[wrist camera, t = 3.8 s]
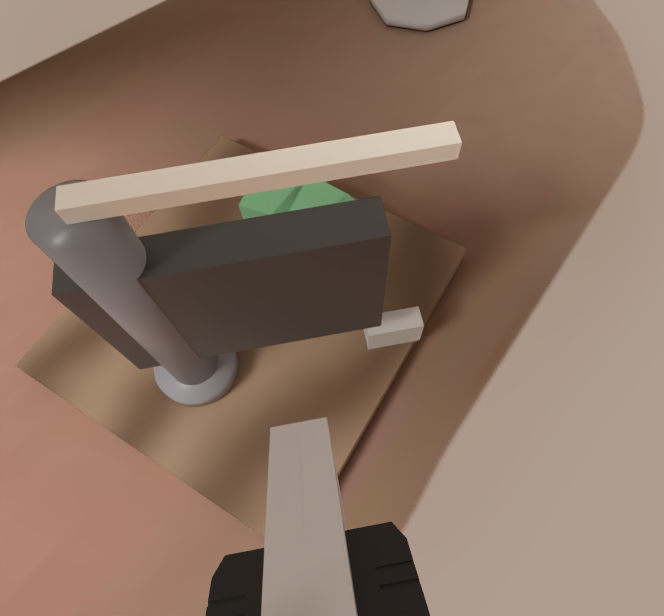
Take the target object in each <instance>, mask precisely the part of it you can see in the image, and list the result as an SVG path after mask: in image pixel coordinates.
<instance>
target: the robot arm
mask: <svg viewBox="0 0 664 616" xmlns="http://www.w3.org/2000/svg"><path fill="white" fill-rule="evenodd" d="M206 616H430V614H429V611H428V607H427V604H426V601H425V597H424V594H423V591H422V587H421V584H420V582H419V578H418V574H417V571H416V568H415V565H414V562H413V558H412V555H411V551H410V548H409V545H408V541H407V538H406V537H405V536H404V535H403V534H402V533H401V532H400V531H399V530H398V529H397V527H396V526H395V525H394V524H393V523H392V522H387V523H382V524H377V525H372V526H367V527H361V528H356V529H351V530H347V529H346V522H345V516H344V510H343V503H342V498H341V492H340V487H339V481H338V476H337V471H336V465H335V460H334V454H333V449H332V443H331V438H330V433H329V427H328V422H327V417H324V418H319V419H314V420H308V421H303V422H297V423H292V424H287V425H281V426H276V427H270V445H269V465H268V485H267V506H266V526H265V546H264V548H261V549H256V550H251V551H246V552H241V553H235V554H230V555H225V557H224V558H223V560H222V562H221V563H220V565H219V567H218V568H217V570H216V572H215V573H214V575H213V577H212V580H211V586H210V592H209V598H208V607H207V610H206Z"/></svg>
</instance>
